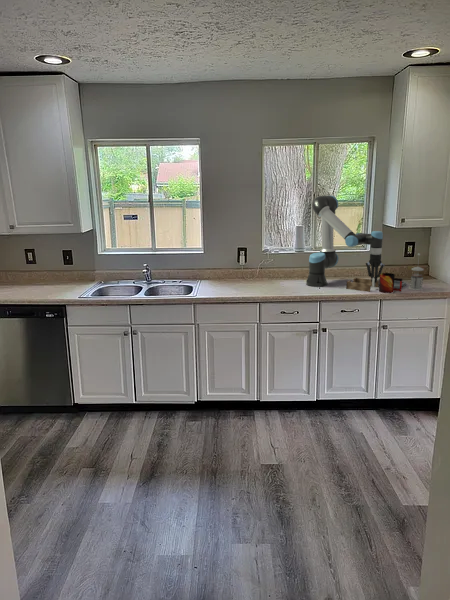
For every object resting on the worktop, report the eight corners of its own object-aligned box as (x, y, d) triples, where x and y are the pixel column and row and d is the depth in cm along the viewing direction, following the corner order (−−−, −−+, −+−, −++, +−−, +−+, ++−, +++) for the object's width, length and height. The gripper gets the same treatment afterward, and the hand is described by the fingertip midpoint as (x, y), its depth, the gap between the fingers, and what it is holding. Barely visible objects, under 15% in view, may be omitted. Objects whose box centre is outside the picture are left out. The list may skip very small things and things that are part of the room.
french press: (424, 287, 305) (427, 252, 298) (422, 291, 296) (425, 255, 289) (409, 286, 310) (412, 251, 303) (407, 289, 300) (410, 254, 294)
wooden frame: (346, 288, 308) (346, 281, 307) (355, 284, 320) (355, 277, 319) (369, 291, 298) (370, 284, 296) (378, 287, 310) (378, 280, 308)
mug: (401, 293, 292) (402, 275, 289) (380, 293, 293) (381, 276, 290) (397, 289, 301) (398, 272, 298) (377, 289, 303) (378, 273, 299)
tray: (371, 285, 315) (371, 282, 314) (379, 281, 327) (379, 278, 326) (398, 289, 302) (399, 286, 302) (406, 284, 314) (406, 281, 314)
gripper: (364, 253, 298) (362, 286, 305) (383, 255, 290) (380, 289, 297) (368, 252, 304) (366, 284, 310) (387, 253, 296) (384, 286, 302)
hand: (373, 286), depth 303 cm, fingers closed
